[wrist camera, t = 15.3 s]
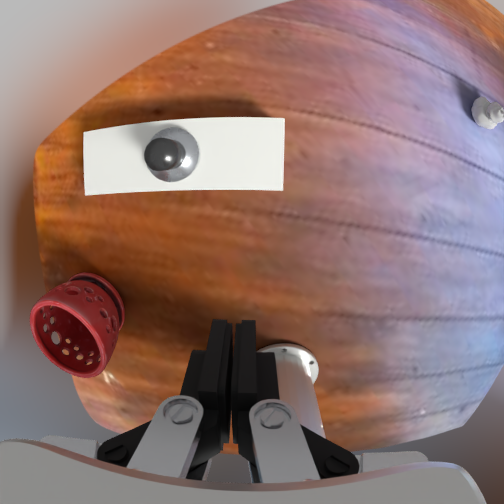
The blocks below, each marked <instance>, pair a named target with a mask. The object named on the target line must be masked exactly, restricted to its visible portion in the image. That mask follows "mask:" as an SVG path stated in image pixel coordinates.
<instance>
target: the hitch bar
mask: <svg viewBox="0 0 504 504" xmlns="http://www.w3.org/2000/svg"><path fill="white" fill-rule="evenodd" d="M284 124H285V118H262V117H217V118H193V119H178V120H165V121H155V122H146V123H138V124H130V125H123V126H116V127H110V128H104V129H98V130H93V131H87V132H84V141H83V152H84V184H85V195H96V194H110V193H125V192H144V191H169V190H281V191H283V171H284ZM171 127H176V128H181V129H184V130H186V131H188V132H190V133H191V134H192V135H193V136H194V137H195V138H196V140H197V142H198V144H199V147H200V160H199V163H198V166H197V168H196V169H195V171H194V172H193V173H192V174H191V175H190V176H188V177H187V178H185V179H183V180H180V181H176V182H165V181H162V180H159V179H158V178H156V177H155V176H154V175H153V174H152V173H151V172H150V170H149V169H148V167H147V164H146V162H145V159H144V152H145V148H146V146H147V145H148V143H149V142H150V140H151V139H152V137H153V136H154V135H155V134H156V133H158V132H159V131H161V130H163V129H166V128H171Z"/></svg>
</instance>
